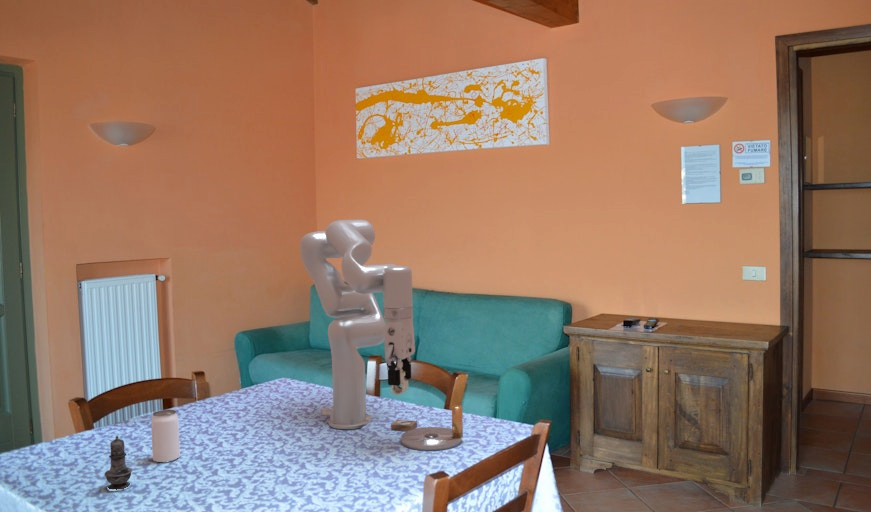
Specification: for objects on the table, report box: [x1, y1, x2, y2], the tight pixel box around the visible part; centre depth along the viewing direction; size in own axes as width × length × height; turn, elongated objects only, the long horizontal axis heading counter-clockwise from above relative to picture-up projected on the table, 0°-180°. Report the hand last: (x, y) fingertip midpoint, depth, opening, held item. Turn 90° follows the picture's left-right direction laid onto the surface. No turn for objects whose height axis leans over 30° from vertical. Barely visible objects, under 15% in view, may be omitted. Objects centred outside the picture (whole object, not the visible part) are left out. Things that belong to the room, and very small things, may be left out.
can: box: [150, 409, 181, 463], centre depth 182 cm, size 6×6×12 cm
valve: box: [390, 348, 412, 397], centre depth 187 cm, size 7×7×12 cm
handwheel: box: [400, 404, 464, 452], centre depth 190 cm, size 16×16×9 cm
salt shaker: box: [104, 435, 133, 490], centre depth 163 cm, size 6×6×12 cm
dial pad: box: [390, 419, 418, 432], centre depth 202 cm, size 6×5×3 cm
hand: (399, 381), depth 187 cm, fingers closed on valve, 6 cm apart
